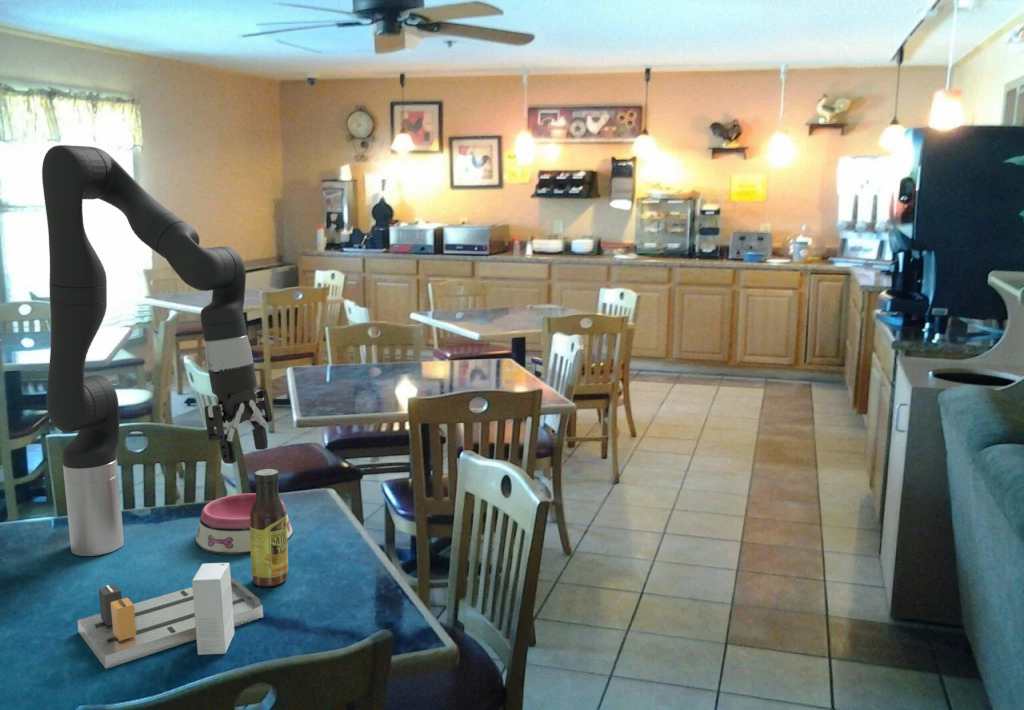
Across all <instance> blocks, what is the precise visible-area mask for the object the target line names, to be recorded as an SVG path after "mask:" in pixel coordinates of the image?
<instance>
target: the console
mask: <svg viewBox="0 0 1024 710" xmlns="http://www.w3.org/2000/svg"><path fill="white" fill-rule="evenodd" d="M230 576H231V590H232V606H233V619H234V628H235V627H238V626H241V624H242V625H244V623H245V624H247V622H248V623H250V622H254V621H256V620H257V621H258V620H260V619H263V618H264V606H263V605H262V604H261V600H260V598H259V597H257V596H256V595H255V594H254V593H253V592H252V591H250V590H249V589H248V588H246V587H245V586H244V585H243V584H242V583H240V582H239V581H238V580H237V579H235V578H234V577H233V576H232V575H230ZM133 604H134V613H135V625H136V636H134V637H131V638H128V639H125V640H121V641H119V640H118V639H117V637H116V636H115V635H114V634H113V625H108V626H107V625H106V624H105V623H104V621H103V620H102V619H101V612H100V613H97V614H93V615H92V616H91V615H90V616H87V617H84V618H80V619H78V620H77V628H78V629H77V630H78V633H79V634H80V636H81V638H82V639H83V640H84V641H85V643H86V644H87V645H88V647H89V649H90V650H91V651H92V652H93V654H94V655H95V656H96V658H97V659H98V660H99V662H100V663H101V665H103V667H104V668H105V669H106V670H107V669H110V668H112V667H116V666H119V665H122V664H125V663H128V662H131V661H132V662H133V661H134V660H138V659H140V658H144V657H147V656H149V655H150V656H151V655H153V654H155V653H158V652H161V651H165V650H167V649H171V648H174V647H177V646H180V645H182V644H185V643H189V642H192V641H195V640H196V641H197V639H196V626H195V613H194V600H193V587H188V588H185V589H181V590H176V591H174V592H173V591H172V592H171V593H167V594H164V595H160V596H157V597H152V598H150V599H146V600H143V601H140V602H136V603H133ZM259 618H260V619H259ZM253 620H254V621H253Z"/></svg>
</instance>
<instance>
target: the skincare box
mask: <svg viewBox="0 0 1024 710" xmlns="http://www.w3.org/2000/svg"><path fill="white" fill-rule="evenodd" d="M231 576H232V575H231V565H230V562H214V563H213V562H210V563H202V564H201V565H200V567H199V569H198V571H197V572H196V574H195V576H194V577H193V579H192V581H191V583H192V584H191V585H192V587H193V600H194V613H195V626H196V650H197V655H198V656H204V655H224V654H226V653H227V650H228V648H229V646H230V644H231V642H232V640H233V638H234V635H235V627H234V619H233V606H232V590H231Z"/></svg>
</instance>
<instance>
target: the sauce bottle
mask: <svg viewBox="0 0 1024 710" xmlns="http://www.w3.org/2000/svg"><path fill="white" fill-rule="evenodd" d="M253 477H254V482H255V493H256V500H255V502H254V503H253V505H252V507H251V510H250V544H251V554H250V564H251V565H250V567H251V568H250V569H251V574H252V581H253V583H254V584H255V585H256V586H259V587H266V588H268V587H275V586H278V585H281V584H283V583H284V582H286V580H287V578H288V571H289V549H288V541H287V516H286V512H285V510H284V507H283V505H282V502H281V500H282V499H281V498H280V495H279V494H280V493H279V479H280V475H279V471H278V470H277V469H274V468H265V469H259V470H257V471H255V472H254V476H253ZM280 499H281V500H280Z"/></svg>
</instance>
